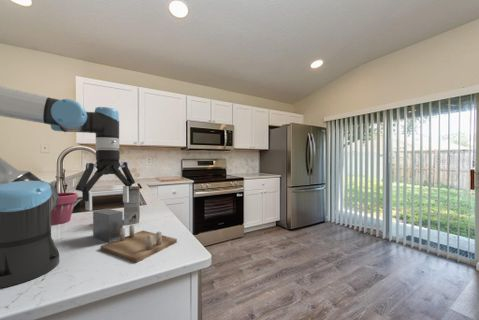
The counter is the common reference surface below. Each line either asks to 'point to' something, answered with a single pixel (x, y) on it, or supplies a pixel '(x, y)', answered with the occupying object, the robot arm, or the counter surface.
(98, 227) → the grey square block
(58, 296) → the counter surface
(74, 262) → the counter surface
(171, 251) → the counter surface
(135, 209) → the coffee box
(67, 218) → the plant pot
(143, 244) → the pin tray
